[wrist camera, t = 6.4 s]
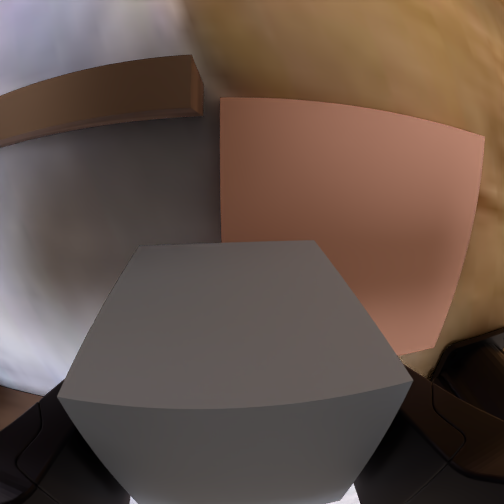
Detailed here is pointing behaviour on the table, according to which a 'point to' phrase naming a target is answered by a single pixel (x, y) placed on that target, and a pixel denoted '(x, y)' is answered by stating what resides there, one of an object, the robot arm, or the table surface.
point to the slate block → (234, 377)
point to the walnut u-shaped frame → (96, 122)
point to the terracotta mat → (357, 200)
